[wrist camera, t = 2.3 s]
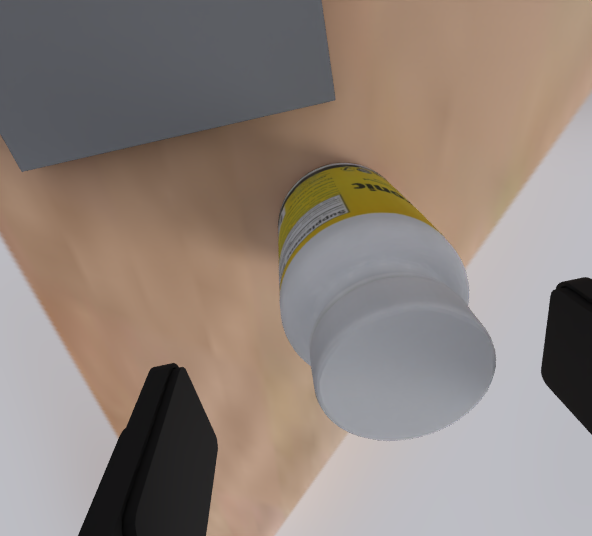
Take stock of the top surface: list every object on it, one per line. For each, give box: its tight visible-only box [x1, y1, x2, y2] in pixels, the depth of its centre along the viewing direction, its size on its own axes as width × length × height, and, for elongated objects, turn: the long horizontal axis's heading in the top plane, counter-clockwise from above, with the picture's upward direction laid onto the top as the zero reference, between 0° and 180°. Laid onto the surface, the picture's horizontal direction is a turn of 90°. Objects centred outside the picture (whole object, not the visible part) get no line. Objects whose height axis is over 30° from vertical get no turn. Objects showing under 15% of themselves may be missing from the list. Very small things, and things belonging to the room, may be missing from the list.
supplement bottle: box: [278, 163, 496, 441], centre depth 12 cm, size 5×5×10 cm
